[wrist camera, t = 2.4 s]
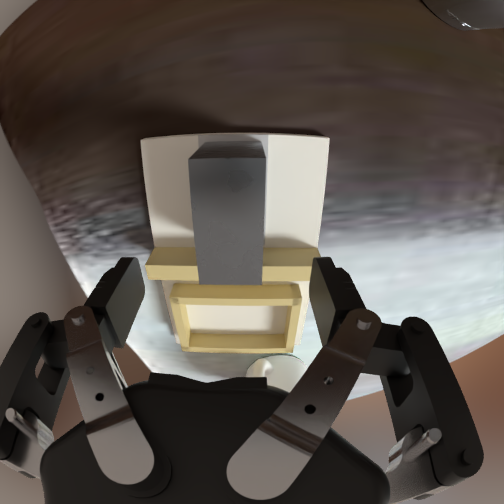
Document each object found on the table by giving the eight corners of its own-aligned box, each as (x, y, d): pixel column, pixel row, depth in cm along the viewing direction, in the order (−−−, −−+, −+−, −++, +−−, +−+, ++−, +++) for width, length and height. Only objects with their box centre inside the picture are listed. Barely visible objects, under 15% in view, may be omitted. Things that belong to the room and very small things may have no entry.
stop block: (205, 141, 19) (188, 159, 13) (261, 141, 19) (266, 158, 14) (210, 239, 23) (199, 284, 18) (258, 239, 23) (261, 285, 18)
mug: (222, 344, 31) (217, 422, 22) (291, 326, 30) (302, 408, 21) (258, 391, 37) (260, 453, 28) (313, 378, 36) (324, 442, 27)
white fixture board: (145, 138, 19) (125, 146, 16) (325, 136, 19) (341, 144, 16) (178, 337, 31) (172, 362, 27) (298, 338, 31) (303, 364, 28)
